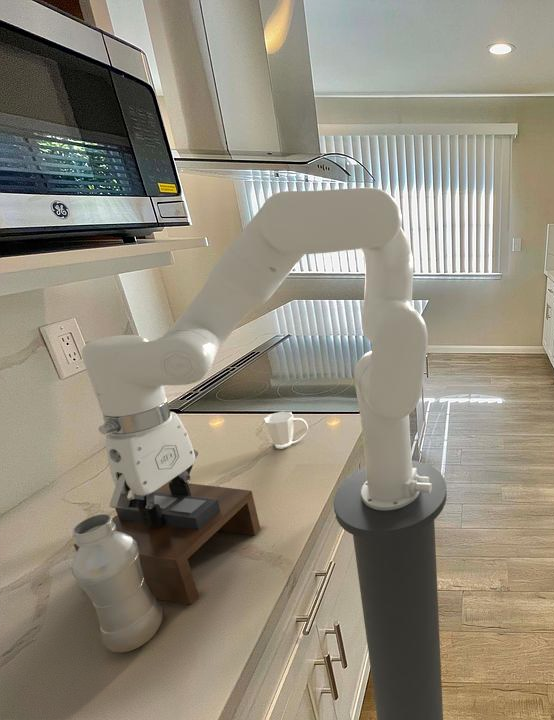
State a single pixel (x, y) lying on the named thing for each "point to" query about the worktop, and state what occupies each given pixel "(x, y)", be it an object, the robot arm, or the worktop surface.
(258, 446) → the worktop surface
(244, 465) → the worktop surface
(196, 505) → the remote
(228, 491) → the shelf
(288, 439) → the cup
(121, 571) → the plastic bottle
